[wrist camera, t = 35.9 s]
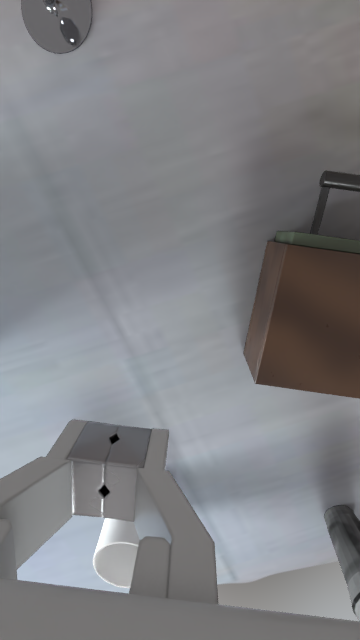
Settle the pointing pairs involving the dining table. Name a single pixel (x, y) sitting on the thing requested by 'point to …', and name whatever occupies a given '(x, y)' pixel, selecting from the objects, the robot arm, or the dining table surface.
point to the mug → (116, 552)
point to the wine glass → (57, 23)
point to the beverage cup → (346, 548)
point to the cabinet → (306, 321)
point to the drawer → (313, 239)
